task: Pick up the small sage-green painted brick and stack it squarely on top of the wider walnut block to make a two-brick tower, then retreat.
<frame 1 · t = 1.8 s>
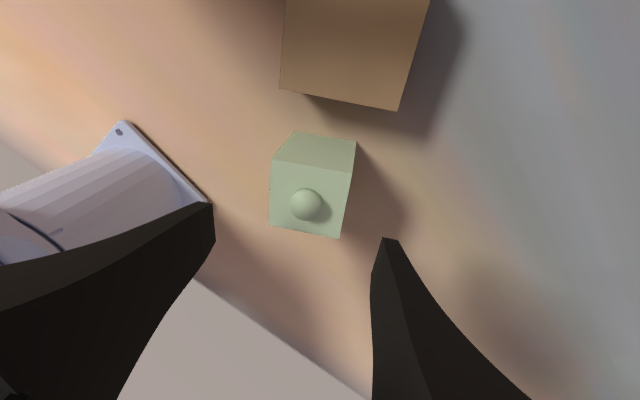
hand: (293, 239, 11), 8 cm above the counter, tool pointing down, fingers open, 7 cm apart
sage brick: (321, 164, 18), on the counter
walnut block: (353, 32, 15), on the counter
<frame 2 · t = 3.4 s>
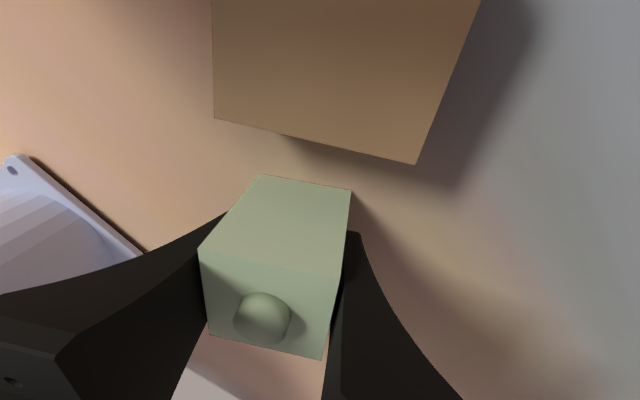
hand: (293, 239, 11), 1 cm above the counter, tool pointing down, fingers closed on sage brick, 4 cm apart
sage brick: (300, 220, 13), on the counter, touching gripper
walnut block: (344, 25, 9), on the counter
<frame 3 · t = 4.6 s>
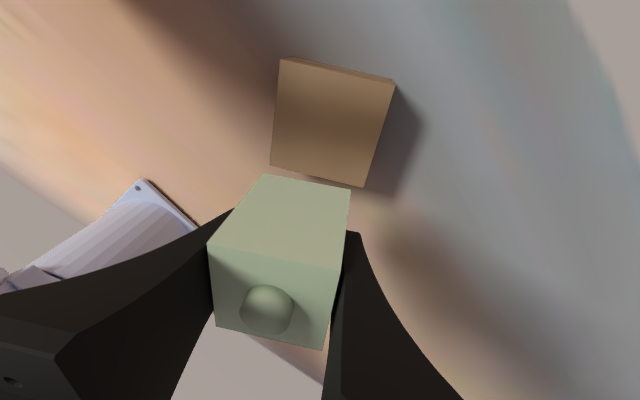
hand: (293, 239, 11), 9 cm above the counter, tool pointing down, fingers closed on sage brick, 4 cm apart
sage brick: (302, 217, 13), point 7 cm above the counter, touching gripper
walnut block: (331, 117, 18), on the counter
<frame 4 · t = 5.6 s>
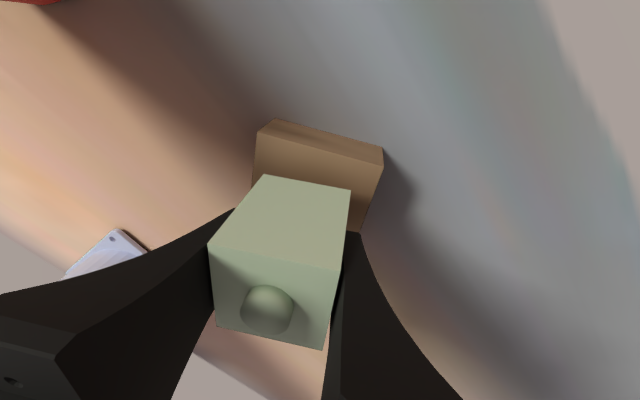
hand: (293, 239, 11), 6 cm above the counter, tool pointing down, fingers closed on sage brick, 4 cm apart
sage brick: (302, 218, 13), point 4 cm above the counter, touching gripper
walnut block: (317, 178, 17), on the counter
when the fingers open (6 cm above the counter, at t = 6.2 s): sage brick drops 1 cm, resting on walnut block.
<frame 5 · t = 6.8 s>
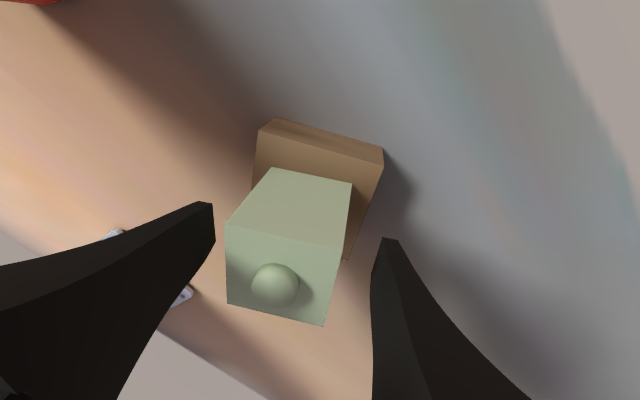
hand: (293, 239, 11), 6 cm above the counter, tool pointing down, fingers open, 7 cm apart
sage brick: (306, 209, 14), point 3 cm above the counter, touching walnut block
walnut block: (317, 177, 17), on the counter, touching sage brick
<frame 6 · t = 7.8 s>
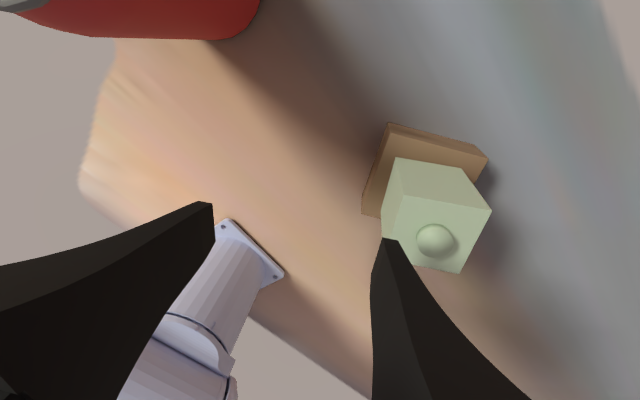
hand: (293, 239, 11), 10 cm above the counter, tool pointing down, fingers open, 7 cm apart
sage brick: (418, 190, 18), point 3 cm above the counter
walnut block: (412, 170, 20), on the counter
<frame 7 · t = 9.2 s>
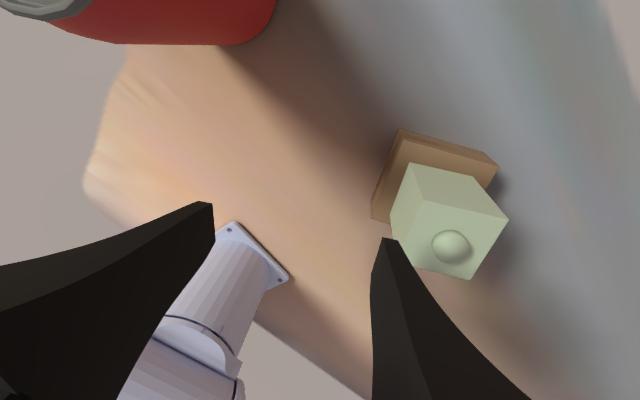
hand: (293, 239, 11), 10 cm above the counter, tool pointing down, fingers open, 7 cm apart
sage brick: (428, 196, 18), point 3 cm above the counter, touching walnut block
walnut block: (422, 176, 21), on the counter, touching sage brick
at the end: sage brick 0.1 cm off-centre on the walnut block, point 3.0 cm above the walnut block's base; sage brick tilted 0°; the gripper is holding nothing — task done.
